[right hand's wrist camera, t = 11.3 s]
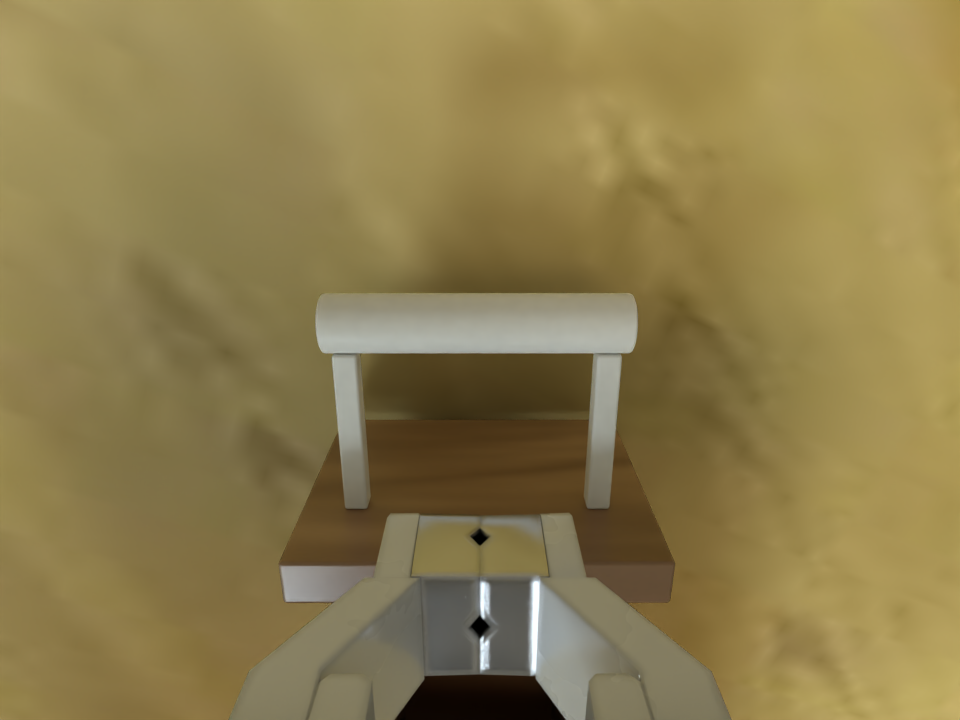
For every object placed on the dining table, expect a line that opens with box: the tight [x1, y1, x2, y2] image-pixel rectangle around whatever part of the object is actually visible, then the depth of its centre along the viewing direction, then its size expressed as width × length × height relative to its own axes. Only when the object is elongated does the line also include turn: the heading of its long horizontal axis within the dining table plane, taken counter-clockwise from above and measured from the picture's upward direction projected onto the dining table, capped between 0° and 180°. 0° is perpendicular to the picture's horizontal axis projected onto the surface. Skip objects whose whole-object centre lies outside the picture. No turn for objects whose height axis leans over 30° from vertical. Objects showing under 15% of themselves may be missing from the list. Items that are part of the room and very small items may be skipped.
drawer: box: [279, 293, 675, 720], centre depth 20 cm, size 25×9×7 cm, turn 0°
